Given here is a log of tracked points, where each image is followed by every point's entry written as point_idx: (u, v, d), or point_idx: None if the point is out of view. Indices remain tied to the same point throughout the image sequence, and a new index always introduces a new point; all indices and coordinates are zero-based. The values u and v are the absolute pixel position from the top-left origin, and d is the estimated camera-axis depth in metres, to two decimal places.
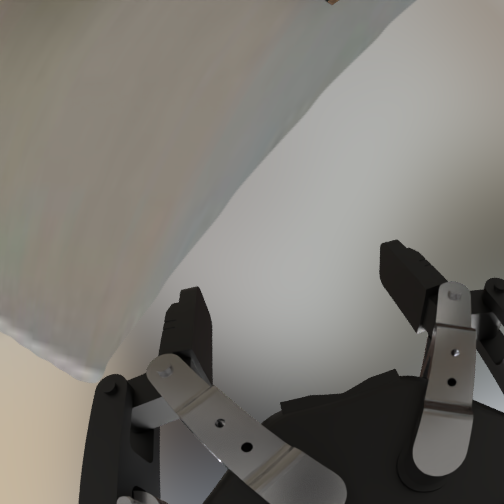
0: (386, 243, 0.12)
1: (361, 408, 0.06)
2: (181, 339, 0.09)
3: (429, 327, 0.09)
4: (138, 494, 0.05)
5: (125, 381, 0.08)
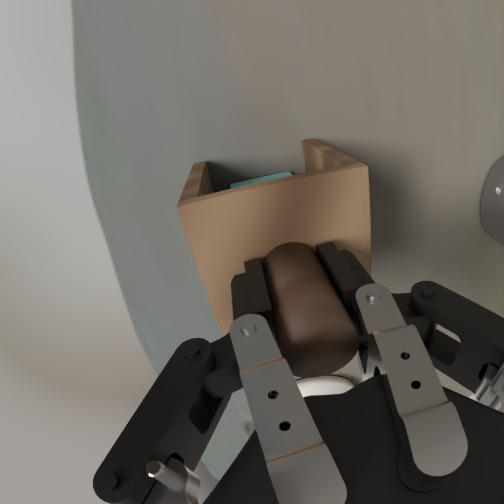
0: (319, 245, 0.13)
1: (361, 408, 0.06)
2: (258, 302, 0.10)
3: None
4: (173, 461, 0.06)
5: (210, 349, 0.09)
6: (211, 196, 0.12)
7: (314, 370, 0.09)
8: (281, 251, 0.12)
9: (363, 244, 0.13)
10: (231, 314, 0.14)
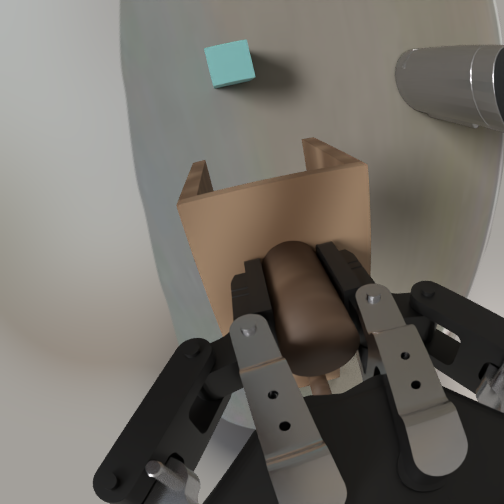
0: (319, 245, 0.13)
1: (361, 408, 0.06)
2: (258, 302, 0.10)
3: None
4: (173, 461, 0.06)
5: (210, 349, 0.09)
6: (211, 195, 0.12)
7: (314, 369, 0.09)
8: (281, 249, 0.12)
9: (363, 243, 0.13)
10: (231, 313, 0.14)
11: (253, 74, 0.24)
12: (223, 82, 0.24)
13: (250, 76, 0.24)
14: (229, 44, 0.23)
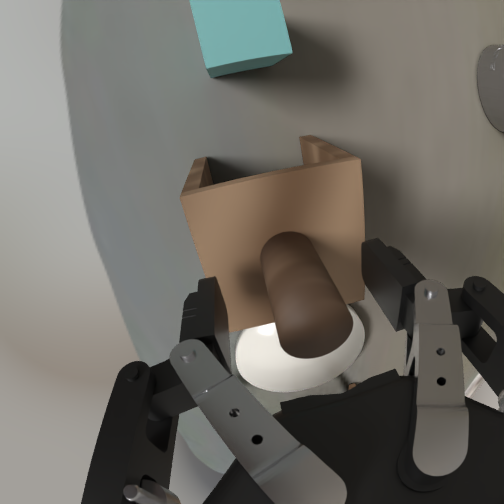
0: (366, 242, 0.12)
1: (361, 408, 0.06)
2: (203, 325, 0.10)
3: (407, 325, 0.09)
4: (146, 482, 0.06)
5: (148, 369, 0.08)
6: (212, 187, 0.12)
7: (310, 350, 0.10)
8: (278, 239, 0.13)
9: (357, 234, 0.14)
10: (231, 302, 0.15)
11: (288, 47, 0.11)
12: (227, 61, 0.11)
13: (282, 51, 0.11)
14: None
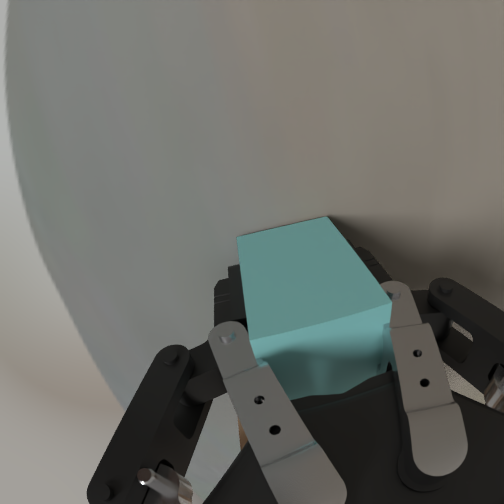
0: None
1: (361, 408, 0.06)
2: (238, 308, 0.10)
3: None
4: (163, 468, 0.06)
5: (188, 355, 0.09)
6: None
7: None
8: None
9: None
10: None
11: None
12: None
13: None
14: (336, 324, 0.08)
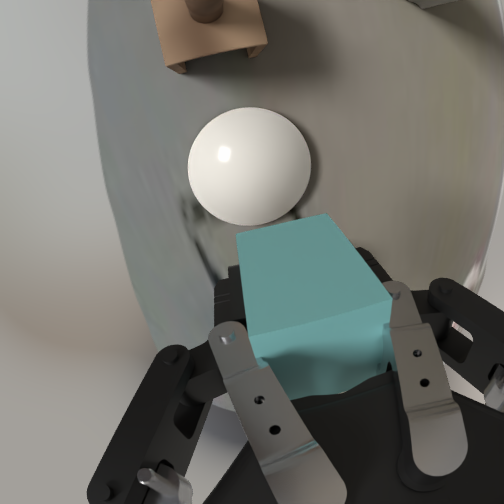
0: None
1: (361, 408, 0.06)
2: (238, 308, 0.10)
3: None
4: (163, 468, 0.06)
5: (188, 355, 0.09)
6: None
7: None
8: None
9: None
10: (170, 40, 0.18)
11: None
12: None
13: None
14: (336, 320, 0.08)
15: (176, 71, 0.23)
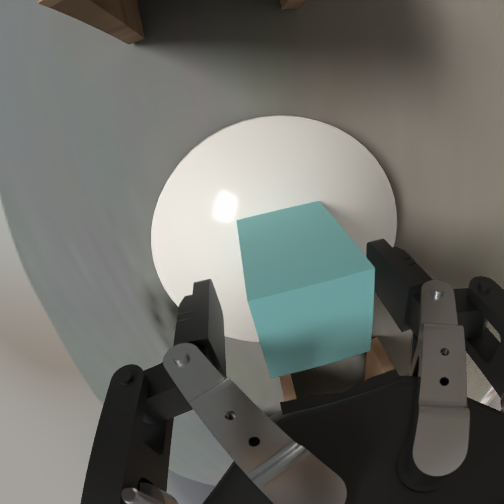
0: (372, 242, 0.12)
1: (361, 408, 0.06)
2: (196, 329, 0.10)
3: (413, 326, 0.09)
4: (143, 485, 0.05)
5: (142, 372, 0.08)
6: None
7: None
8: None
9: None
10: None
11: (367, 346, 0.10)
12: (296, 370, 0.11)
13: (360, 352, 0.11)
14: (325, 286, 0.09)
15: (110, 32, 0.08)
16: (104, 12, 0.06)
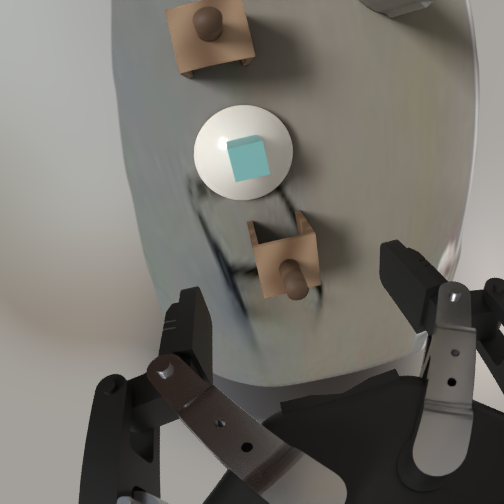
0: (386, 243, 0.12)
1: (361, 408, 0.06)
2: (181, 339, 0.09)
3: (429, 327, 0.09)
4: (138, 493, 0.05)
5: (125, 381, 0.08)
6: (178, 6, 0.22)
7: (206, 26, 0.20)
8: None
9: (243, 21, 0.24)
10: (182, 54, 0.25)
11: (268, 172, 0.33)
12: (244, 179, 0.33)
13: (266, 173, 0.33)
14: (248, 145, 0.31)
15: (186, 76, 0.30)
16: (189, 73, 0.28)
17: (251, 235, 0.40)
